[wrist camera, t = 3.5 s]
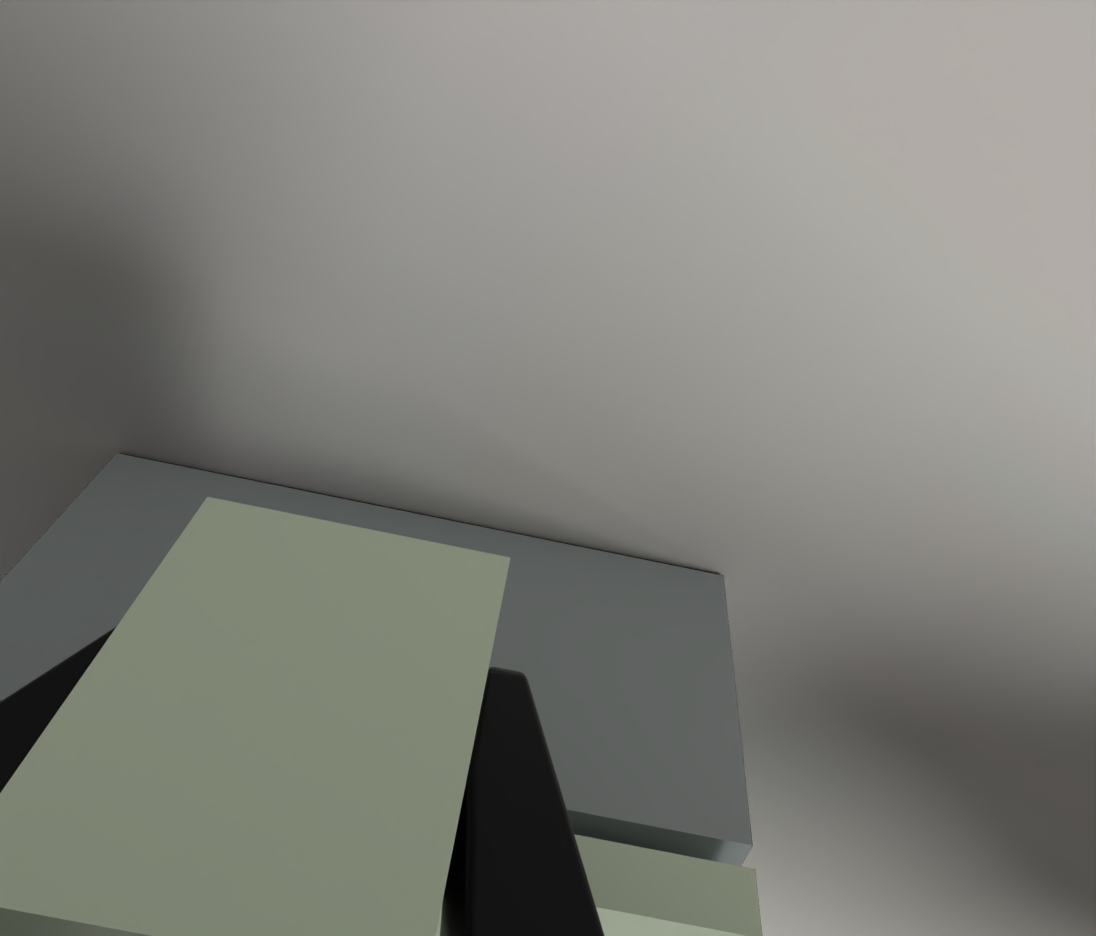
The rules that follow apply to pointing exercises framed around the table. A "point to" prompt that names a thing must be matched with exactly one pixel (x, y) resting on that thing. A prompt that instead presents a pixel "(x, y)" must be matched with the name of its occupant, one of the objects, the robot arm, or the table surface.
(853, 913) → the table surface
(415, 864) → the lid
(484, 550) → the tub
